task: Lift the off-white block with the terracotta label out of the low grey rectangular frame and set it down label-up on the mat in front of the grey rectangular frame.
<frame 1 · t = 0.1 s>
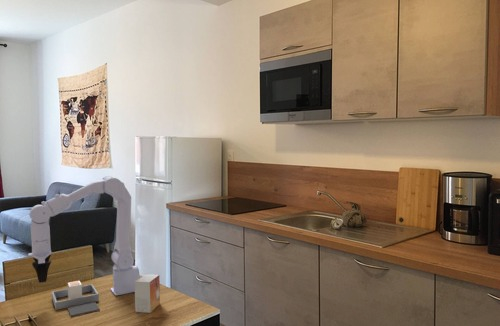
hand: (42, 278, 139), 10 cm above the table, tool pointing down, fingers open, 7 cm apart
block: (74, 291, 146), in the grey rectangular frame
grey rectangular frame: (75, 299, 146), on the table
mat: (83, 309, 137), on the table
small box: (148, 308, 138), on the table
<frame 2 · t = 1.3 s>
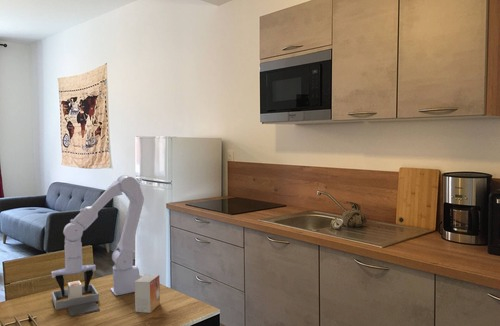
hand: (74, 293, 146), 2 cm above the table, tool pointing down, fingers open, 7 cm apart
nothing on the table moved.
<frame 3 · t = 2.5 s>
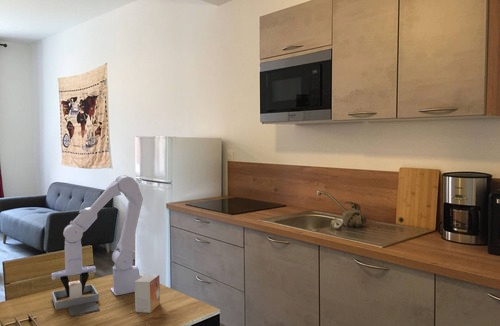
hand: (75, 294, 146), 2 cm above the table, tool pointing down, fingers closed on block, 4 cm apart
block: (74, 291, 146), in the grey rectangular frame, touching gripper
everything else where it was.
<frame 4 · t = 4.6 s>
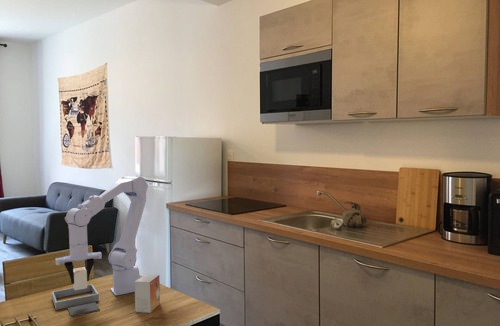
hand: (79, 281, 139), 9 cm above the table, tool pointing down, fingers closed on block, 4 cm apart
block: (79, 278, 139), point 10 cm above the table, touching gripper
everything else where it was.
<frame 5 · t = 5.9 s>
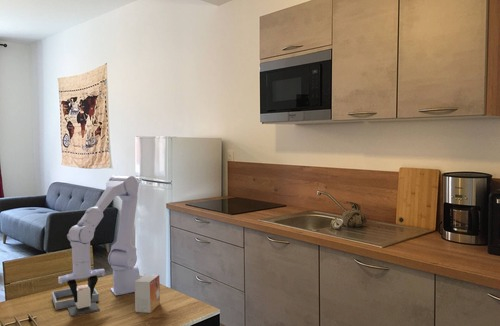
hand: (83, 299, 137), 3 cm above the table, tool pointing down, fingers closed on block, 4 cm apart
block: (82, 296, 137), point 5 cm above the table, touching gripper
everything else where it was.
when the fingers open (3 cm above the table, at t = 6.7 s): block stays where it is, resting on mat.
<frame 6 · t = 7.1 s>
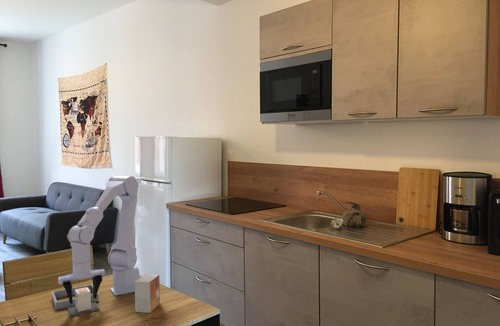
hand: (83, 300, 137), 3 cm above the table, tool pointing down, fingers open, 7 cm apart
block: (82, 298, 137), on the mat
everything else where it was.
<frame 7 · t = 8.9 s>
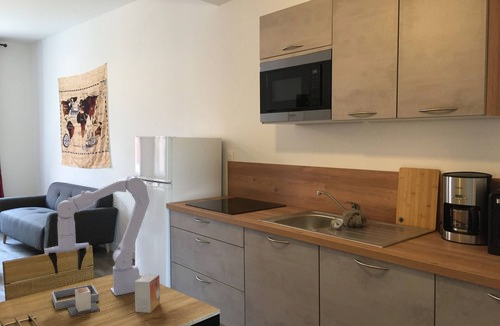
hand: (68, 271, 146), 10 cm above the table, tool pointing down, fingers open, 7 cm apart
nothing on the table moved.
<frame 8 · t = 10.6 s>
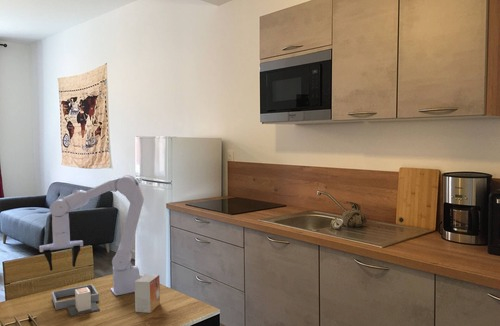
hand: (62, 267, 150), 10 cm above the table, tool pointing down, fingers open, 7 cm apart
nothing on the table moved.
at the end: block 0.3 cm off-centre on the mat, point 3.6 cm above the mat's base; block tilted 0°; the gripper is holding nothing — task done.
